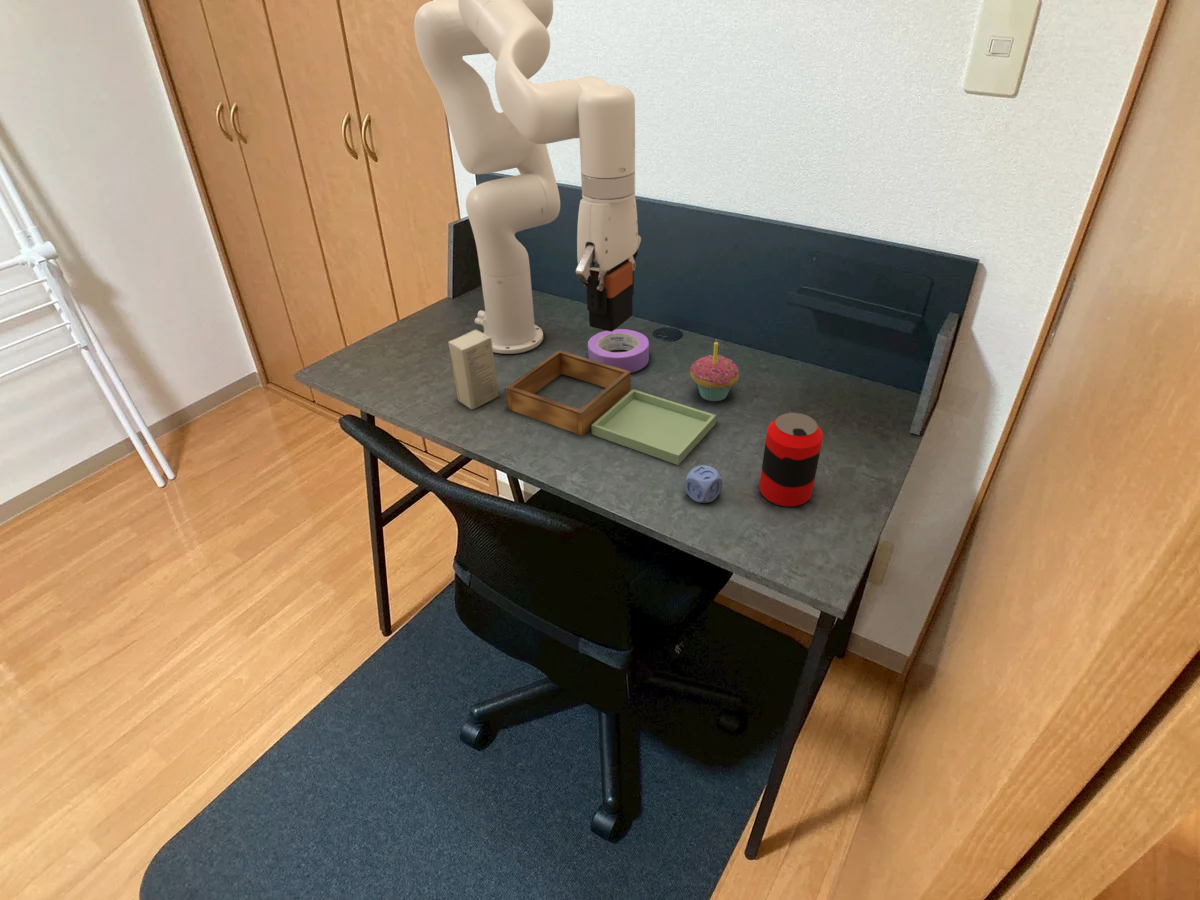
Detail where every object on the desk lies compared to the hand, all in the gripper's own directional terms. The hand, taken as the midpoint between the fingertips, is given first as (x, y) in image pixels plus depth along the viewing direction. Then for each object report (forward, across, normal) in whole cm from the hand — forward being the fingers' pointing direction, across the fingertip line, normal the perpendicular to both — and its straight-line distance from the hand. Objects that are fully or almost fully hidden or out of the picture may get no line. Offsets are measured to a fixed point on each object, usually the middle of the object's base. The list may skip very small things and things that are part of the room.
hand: (611, 302), depth 111 cm
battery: (+4, 0, 0) cm, 4 cm away
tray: (+21, 0, +8) cm, 23 cm away
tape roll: (+21, -17, -10) cm, 29 cm away
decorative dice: (+22, +11, +22) cm, 33 cm away
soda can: (+22, +4, +32) cm, 39 cm away
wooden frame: (+21, 0, -9) cm, 23 cm away
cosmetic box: (+21, +8, -24) cm, 33 cm away
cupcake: (+21, -15, +11) cm, 29 cm away
